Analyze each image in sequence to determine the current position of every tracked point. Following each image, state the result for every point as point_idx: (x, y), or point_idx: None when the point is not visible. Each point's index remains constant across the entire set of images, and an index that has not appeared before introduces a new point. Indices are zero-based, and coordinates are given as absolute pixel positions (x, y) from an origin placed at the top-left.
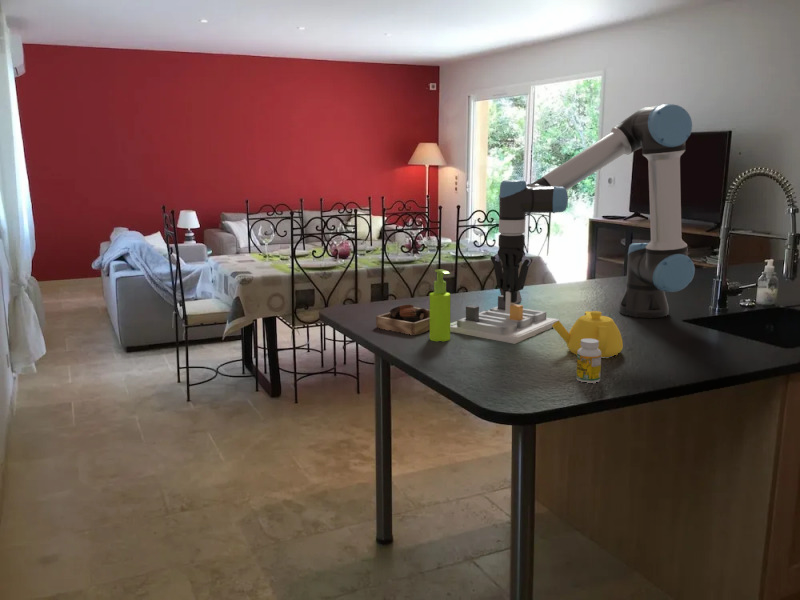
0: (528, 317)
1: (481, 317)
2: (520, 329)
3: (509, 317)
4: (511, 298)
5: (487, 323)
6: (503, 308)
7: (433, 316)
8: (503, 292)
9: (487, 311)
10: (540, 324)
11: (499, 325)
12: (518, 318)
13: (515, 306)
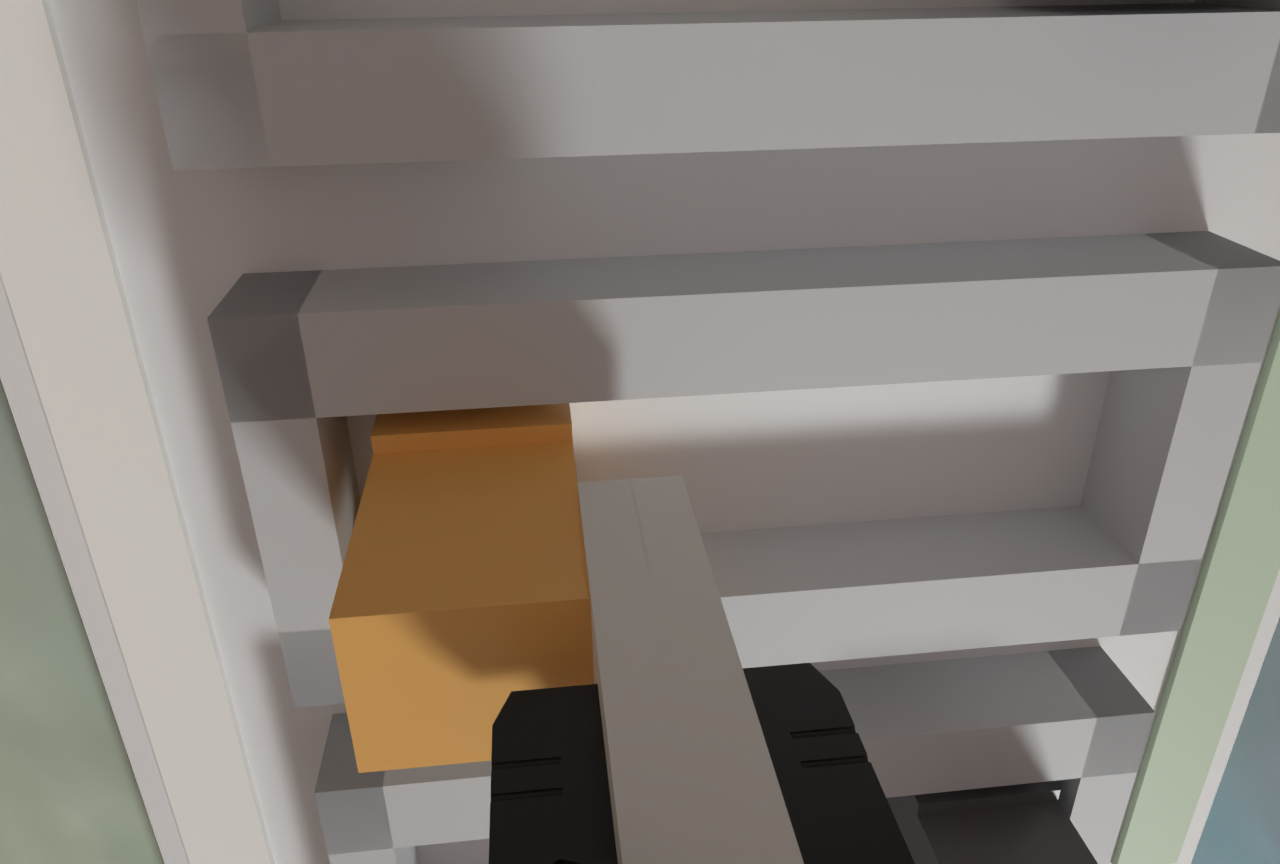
0: None
1: (1105, 264)
2: (208, 241)
3: None
4: (596, 767)
5: (838, 12)
6: (968, 825)
7: None
8: (909, 856)
9: (1135, 582)
10: (174, 670)
11: (543, 21)
12: (372, 470)
13: (429, 607)
